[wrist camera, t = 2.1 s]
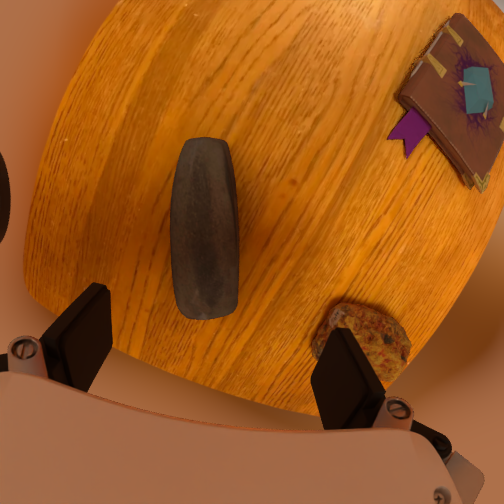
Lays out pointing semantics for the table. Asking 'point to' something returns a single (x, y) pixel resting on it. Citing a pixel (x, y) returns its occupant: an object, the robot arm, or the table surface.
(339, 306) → the rock
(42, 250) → the table surface
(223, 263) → the decorative stone
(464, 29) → the book
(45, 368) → the robot arm
